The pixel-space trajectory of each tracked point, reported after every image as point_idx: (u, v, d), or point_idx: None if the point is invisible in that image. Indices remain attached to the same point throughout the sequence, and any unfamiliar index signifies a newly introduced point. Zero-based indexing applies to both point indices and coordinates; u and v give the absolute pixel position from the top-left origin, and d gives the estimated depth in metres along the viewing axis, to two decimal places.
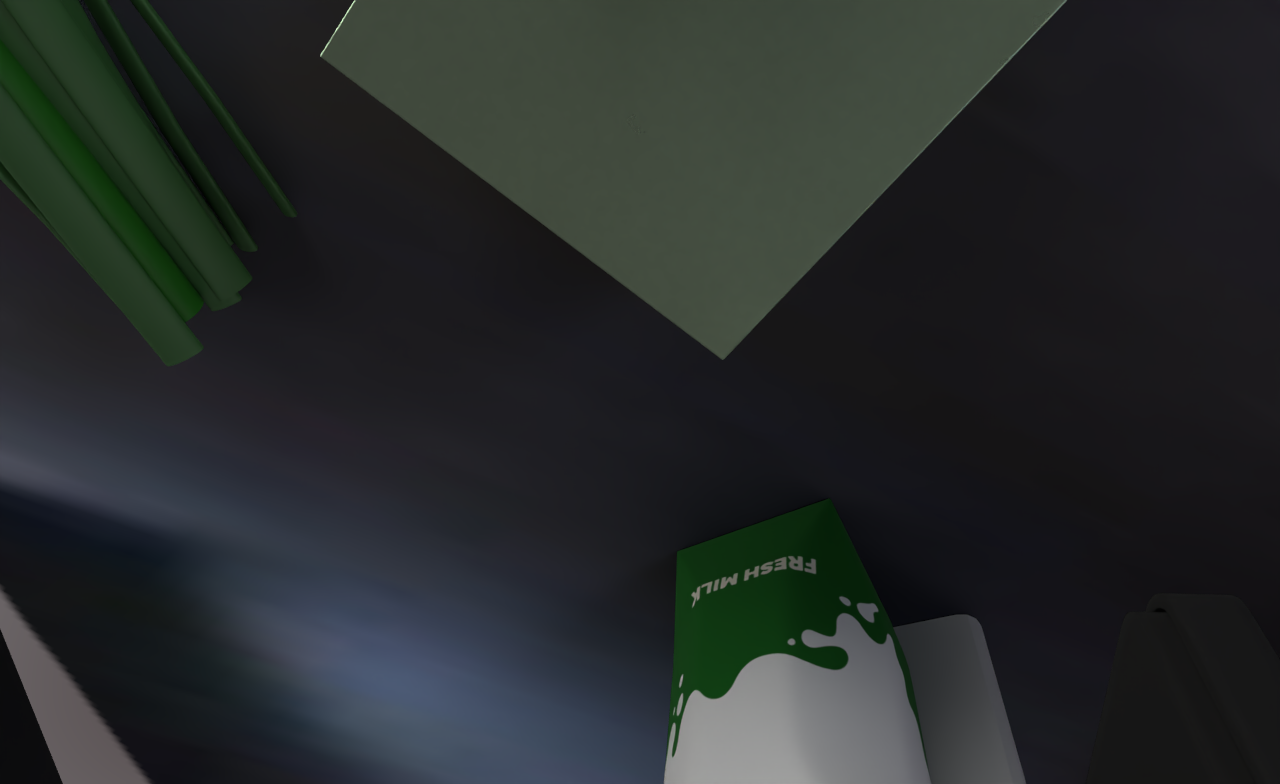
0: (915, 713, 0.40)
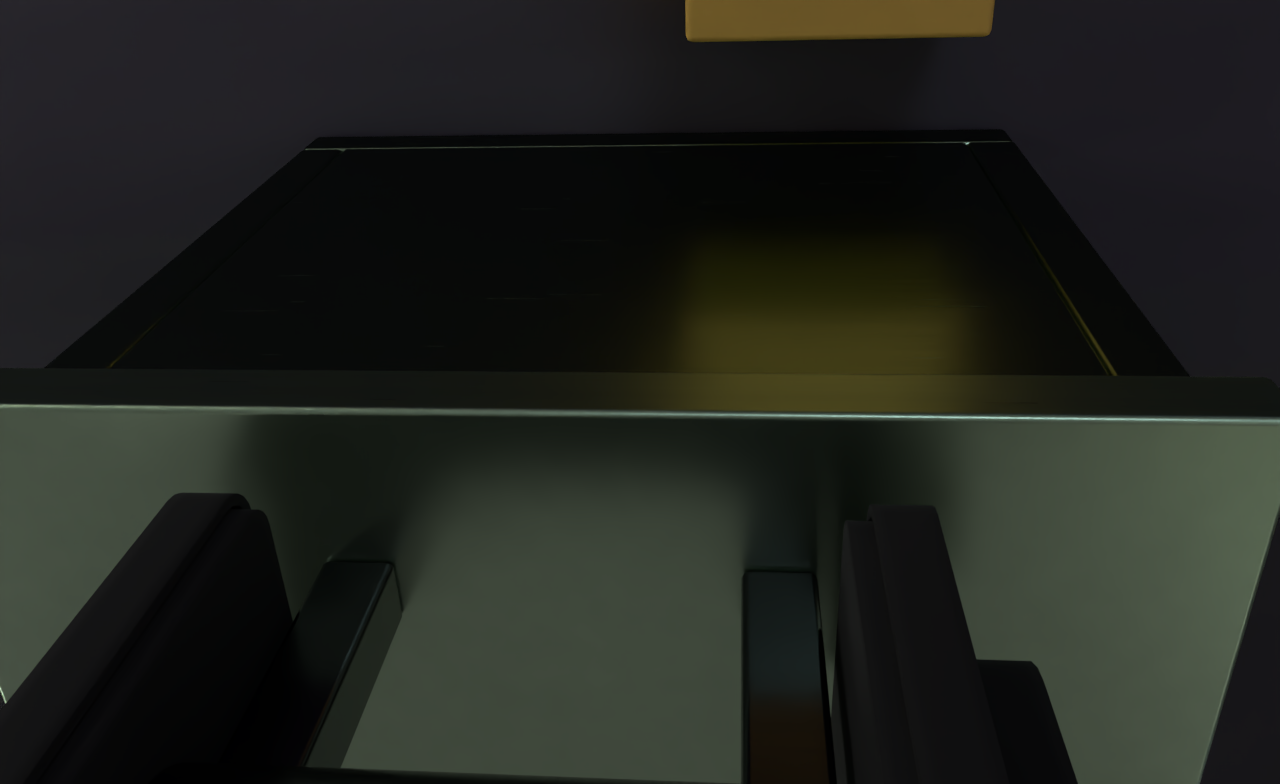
0: None
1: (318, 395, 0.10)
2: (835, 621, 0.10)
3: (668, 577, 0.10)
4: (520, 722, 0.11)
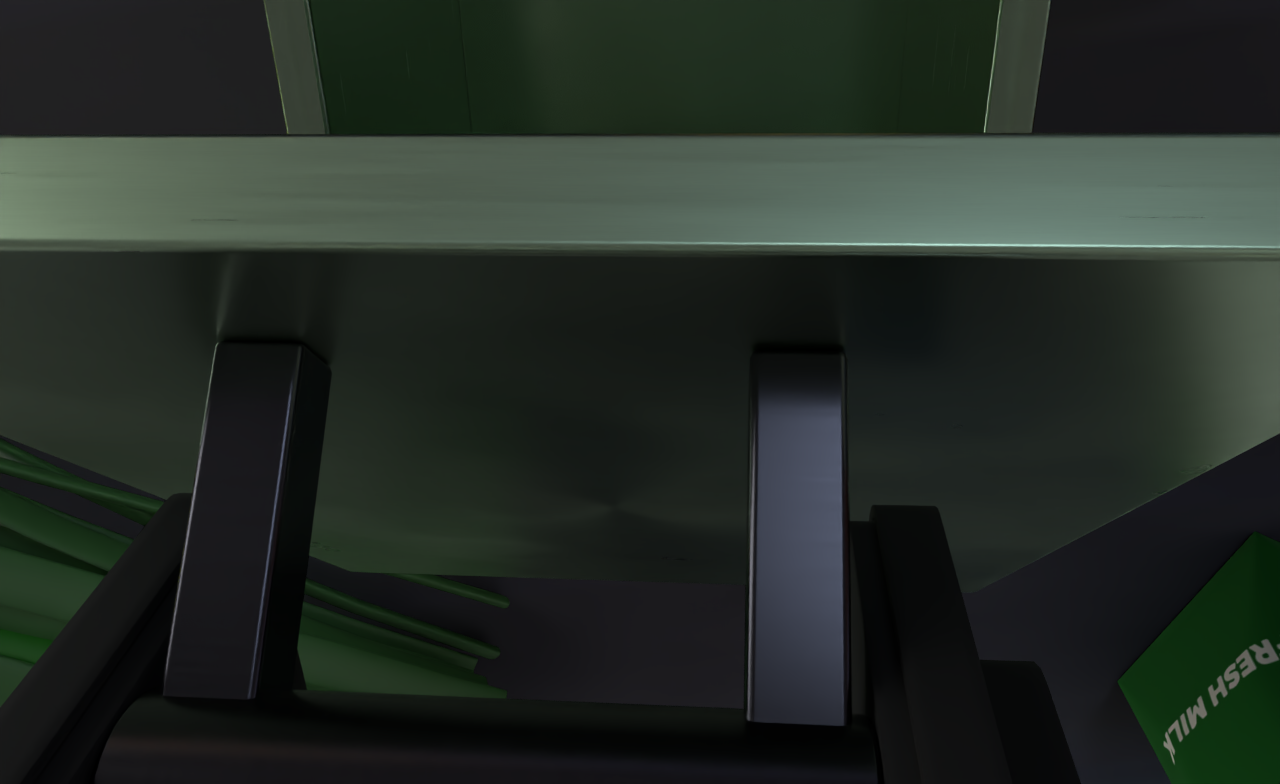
0: None
1: (122, 209, 0.07)
2: (866, 373, 0.08)
3: (656, 350, 0.08)
4: (497, 416, 0.10)
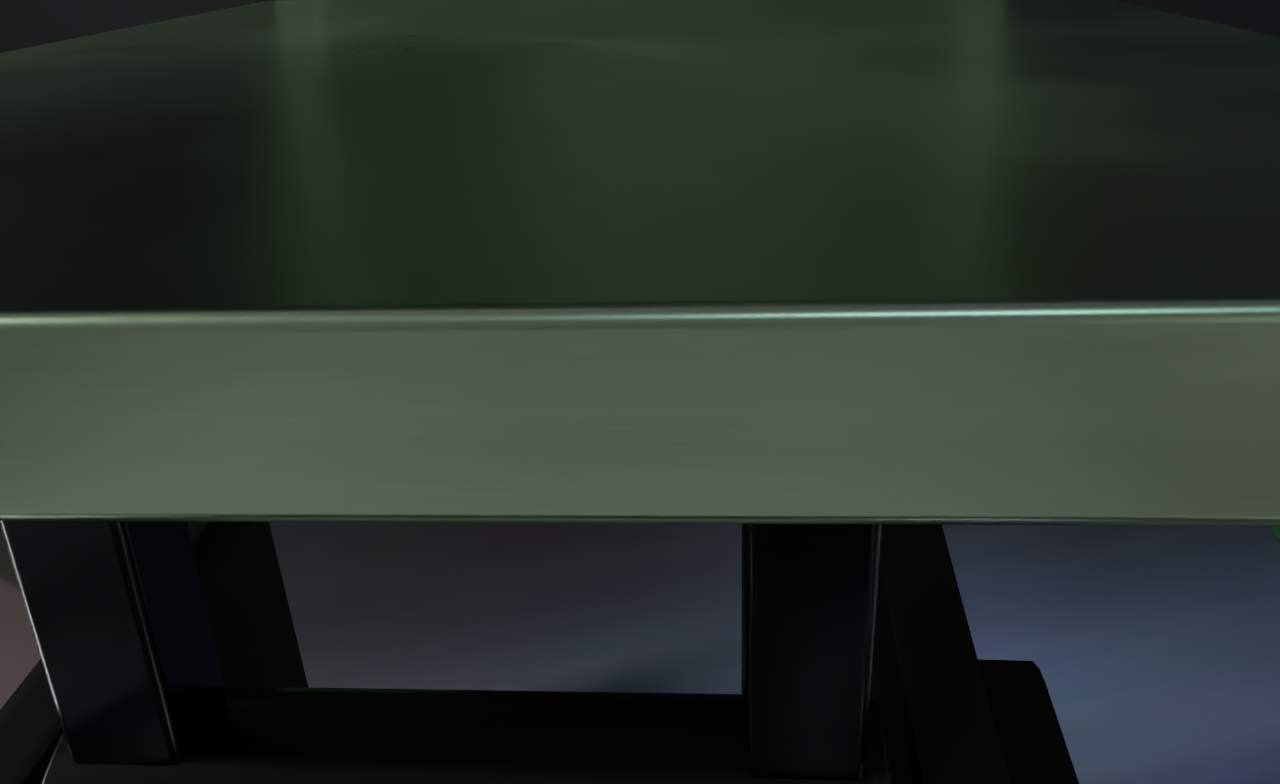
0: None
1: None
2: None
3: None
4: None
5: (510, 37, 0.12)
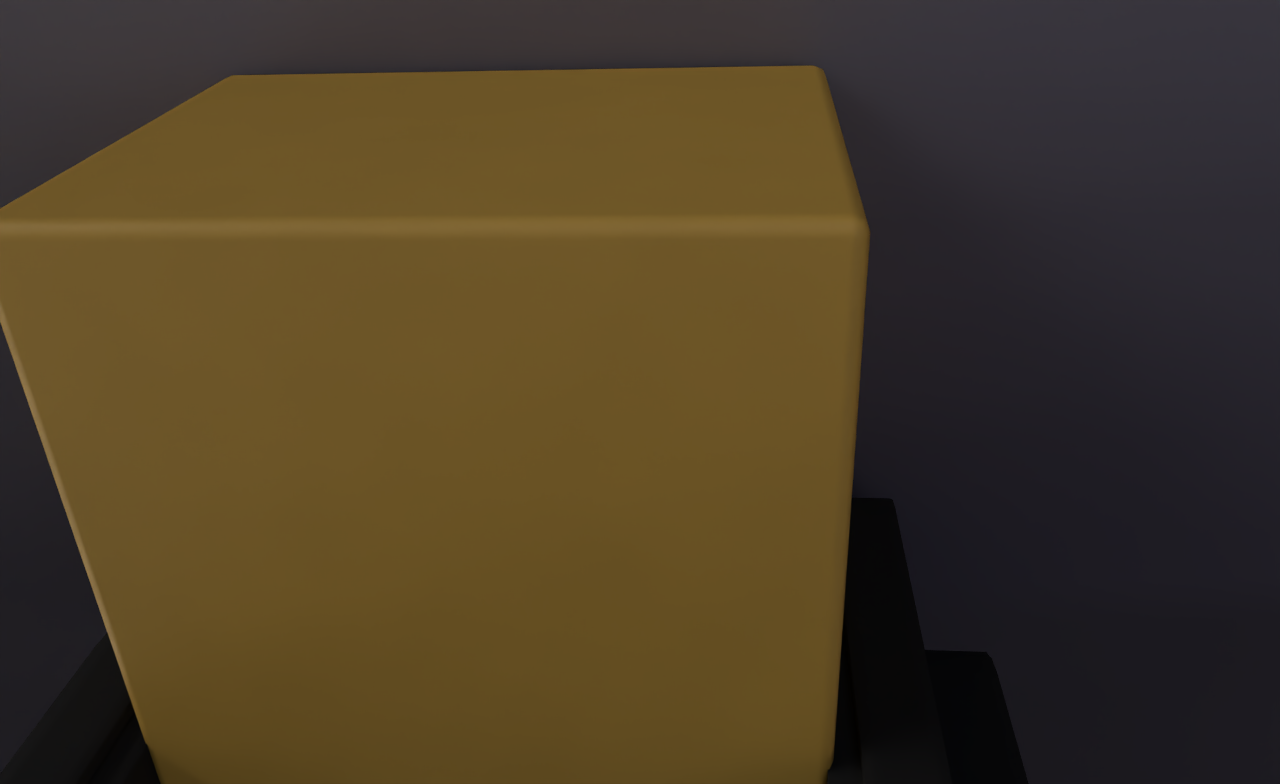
0: None
1: None
2: None
3: None
4: None
5: None
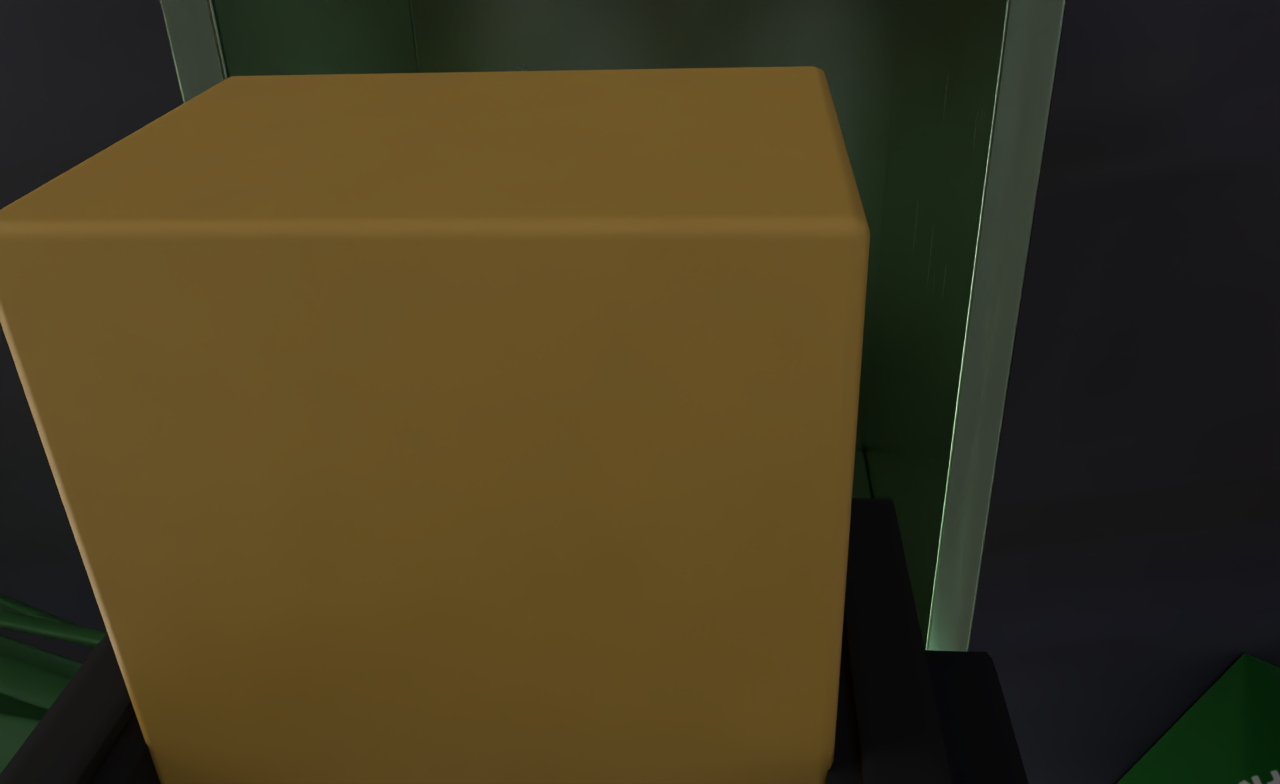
0: None
1: None
2: None
3: None
4: None
5: None
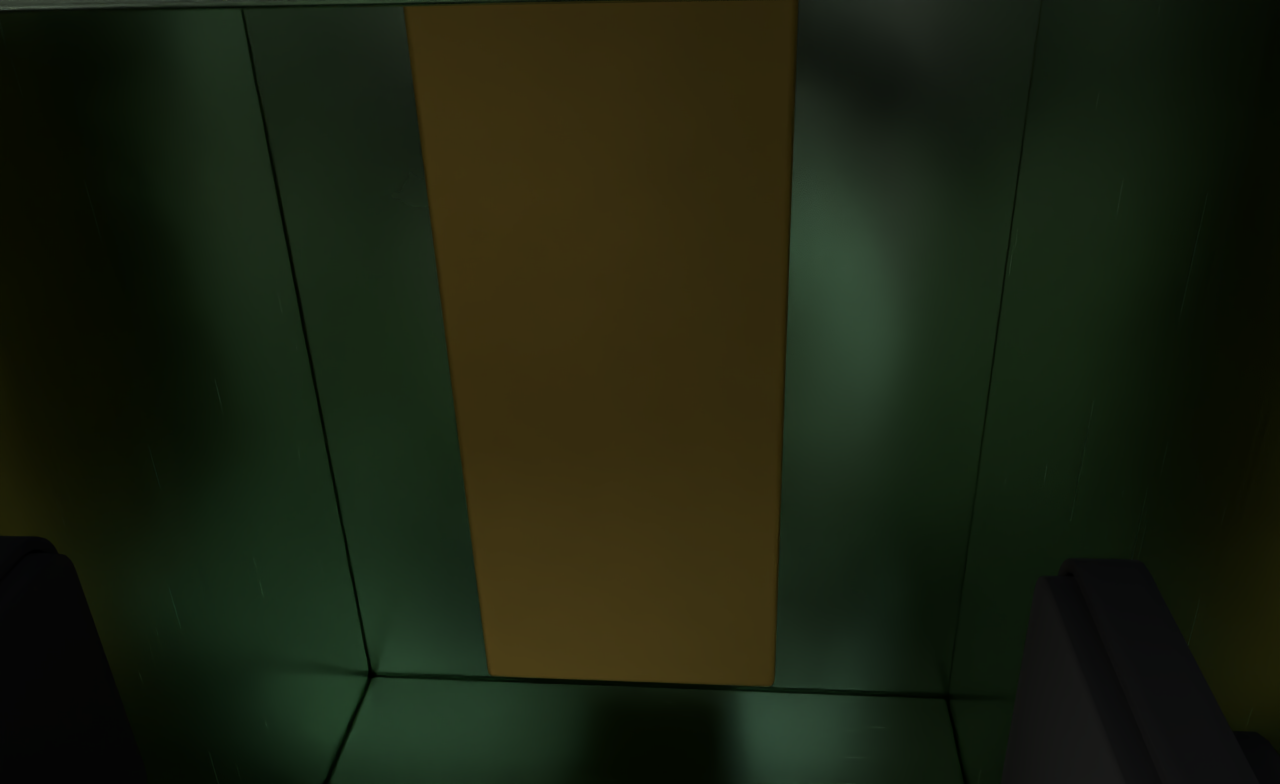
0: None
1: None
2: None
3: None
4: None
5: None
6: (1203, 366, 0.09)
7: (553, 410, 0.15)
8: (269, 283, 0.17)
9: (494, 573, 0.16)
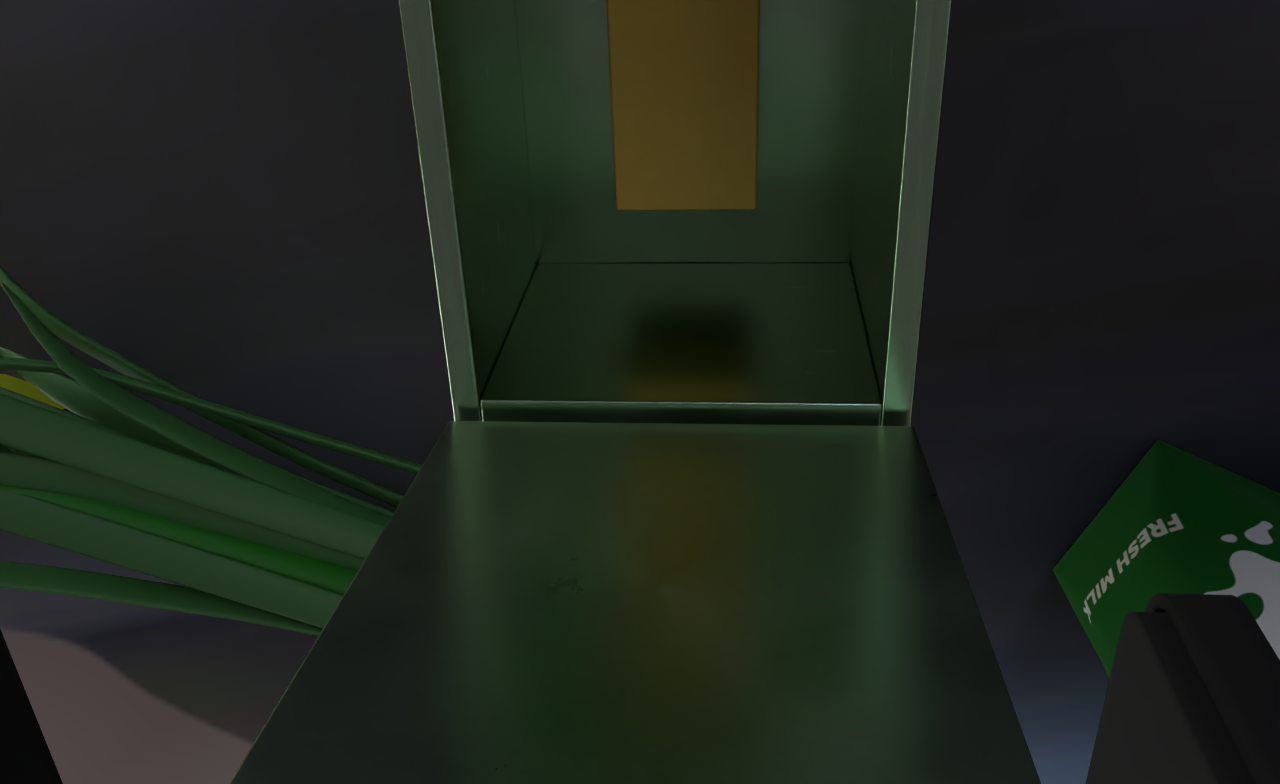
0: None
1: None
2: None
3: None
4: None
5: (625, 570, 0.23)
6: None
7: (655, 55, 0.32)
8: (510, 15, 0.34)
9: (622, 148, 0.34)
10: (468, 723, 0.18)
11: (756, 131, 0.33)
